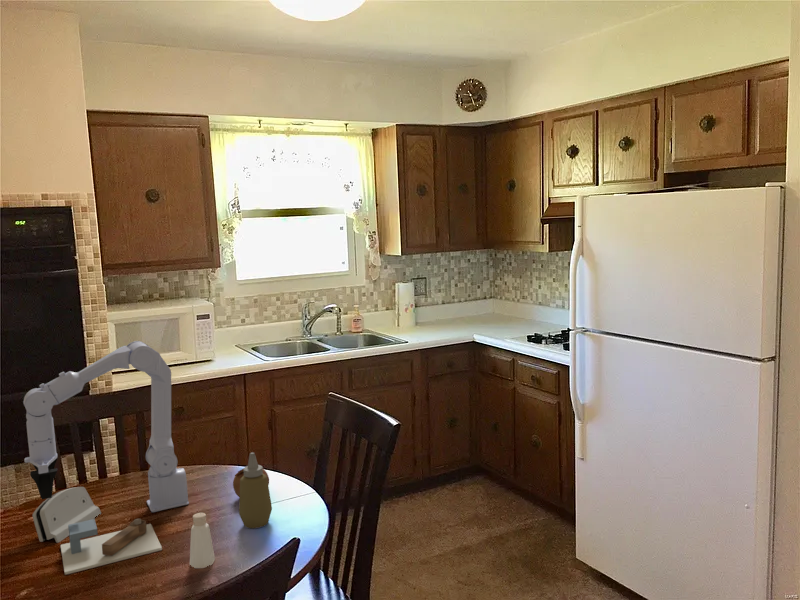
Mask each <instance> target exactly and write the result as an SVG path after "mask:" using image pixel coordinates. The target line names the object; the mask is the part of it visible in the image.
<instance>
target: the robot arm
mask: <svg viewBox="0 0 800 600" xmlns="http://www.w3.org/2000/svg"><path fill="white" fill-rule="evenodd" d="M130 365H131V367H133V368H134V369H136V370H137V371H140V372H143V373H145V374H146V375H148V376H149V377H150V379H151V380H150V381H151V382H150V384H151V385H150V386H151V387H150V390H151V391H150V400H151V402H150V405H151V406H150V408H151V409H150V411H151V412H150V415H151V416H150V421H151V422H150V423H151V424H150V427H151V428H150V429H151V433H150V434H151V435H150V437H149V445H148V448H147V450H146V452H145V460H146V462H147V463H148V464H149V465H150V467H149V469H148V471H147V478H148V479H147V480H148V481H147V482H148V493H149V499H148V500H146V504H147V506H148V508H149V510H150V512H151V513H156V512H160V511H165V510H168V509H173V508H179V507H182V506H187V505H189V504H190V502H189V496H188V494H189V493H188V481H187V474H186V470H185V468H184V467H180V468H177V466H178V457H177V455H176V454H175V448H174V443H173V439H172V370H171V368H170V367H169V365H168V364H167V362H166V361H165V360H164V359H163V357H162V356H161V354H160V352H158V351H157V350H155V349H154V348H152V347H151V346H149V345H148V344H146V343H145V342H143V341H140V340H134V341H132V342H129V343H128V344H127V345H122V346H120V347H118V348H117V349H115V350H113V351H112V352H110V353H108V354H107V355H105V356H103V357H100V359H97V360H96V361H95V362H93V363H91V364H89V365H88V366H86V367H84V368H83V369H81V370H79V371H77V372H76V371H75V372H74V371H71V370H69V371H67V372H65V371H62V372H60V373H58V377H55V378H54V379H52V380H50V381H49V382H46V383H41V384H39V385H38V388H37V387H35V388H32V389H30V390H28V392H26V394H24V397H23V401H22V403H23V406H24V407H25V410H26V414H25V418H26V422H25V423H26V424H25V426H26V433H27V443H28V452H29V456H27V457H25V458H24V460H23V461H24V463H26V464H27V463H30V464H32V466H33V467H34V469H35V470H30V477H31V478H32V480H33V481H34V483H35V485H36V488H37V489H38V492H39V495H40V498H41V499H42V500H46V499H48V498H51V497H52V495H53V490H54V480H55V477H56V475H57V472H58V468H57V467H56V468H55V466H56V463H57V461H58V458H59V457H58V453H57V446H56V443H57V442H56V434H55V425H54V417H53V416H52V409H53V407H54V406H57V405H60V404H62V403H63V402H65V401H66V400H68V399H70V398H72V397H74V396H76V395H77V394H79V393H81V392H83V389H84V386H85V384H86V383H88V382H91V381H92V380H94V379H97V378H99V377H101V376H103V375H105V374H107V373H109V372H111V371H113V370H115V369H122V370H123V369H124V370H125V369H126V370H129V369H130Z"/></svg>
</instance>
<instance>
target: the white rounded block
mask: <svg viewBox="0 0 800 600" xmlns="http://www.w3.org/2000/svg"><path fill="white" fill-rule="evenodd" d="M99 514H100V515H101V514H102V512H101V509H100V507H98V506H97V505H95V504H94V501H93V499H92V498H91V496H90V494H89V493H88V491H87V489H86V487H84V486H77V487H75V486H74V487H70V488H66V489H63V490H60V491H58V492H56V493H54V494H52V497H51V498H47V499H44V500H43V501H42V502H41V503H40V505H39V506H38V507H37V508H35V510H34V511H33V512H32V519H33V523H34V527H35V530H36V534H37V537H38V540H39V542H41V543H42V542H45V541H46V540H48V541H49V540H51V539H54V540H55V543H56V544H58V543H60V542H61V541H63V540H65V539H66V538H67V537H69V529H68V525H70V524H74V523H79V522H83V521H87V520H92V519H96V518H97V517H98V515H99ZM100 515H99V516H100ZM96 516H97V517H96ZM95 517H96V518H95Z"/></svg>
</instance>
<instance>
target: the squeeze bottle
mask: <svg viewBox="0 0 800 600" xmlns="http://www.w3.org/2000/svg"><path fill="white" fill-rule="evenodd" d="M257 460H258V459H257V457H256V454H255V452H250V453H249V456H248V462H247V465H246V466H245V467H243V468H244V469H243V468H242V469H243V471H244V476H243V477H242V478H241V479H240V496H239V497H238V499H239V500H238V514H239V517H240V519H241V521H242V524H243V525H244V527H245V528H248V529H260V528H263V527H265V526H266V525H268V523H269V521H270V517H271V515H272V514H271V513H272V509H273V507H272V501H271V494H270V487H269V485H268V481H267V476H266V475H265V474H263V469H264V468H263V466H262V465H260V464H258V461H257Z"/></svg>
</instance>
